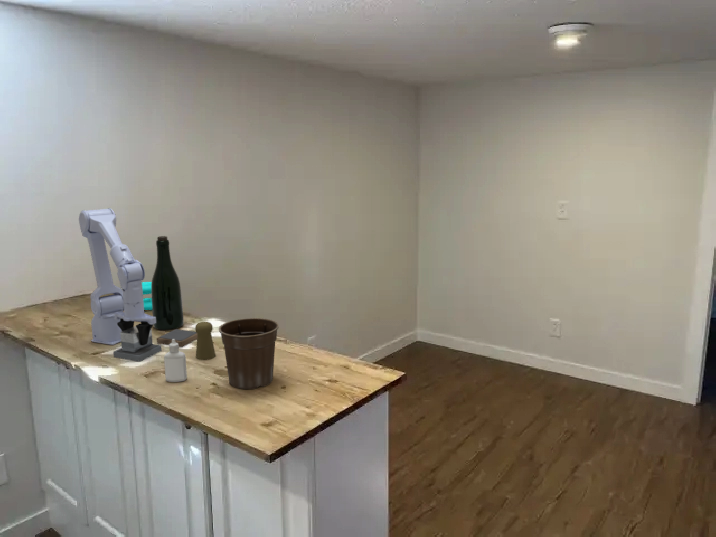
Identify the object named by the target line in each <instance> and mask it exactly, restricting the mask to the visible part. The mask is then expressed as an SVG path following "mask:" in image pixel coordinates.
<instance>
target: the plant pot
mask: <svg viewBox="0 0 716 537" xmlns="http://www.w3.org/2000/svg"><path fill="white" fill-rule="evenodd" d="M279 326H280V324H279V323H278V322H277V321H276V320H272V319H268V318H264V317H263V318H261V317H250V318H246V317H245V318H239V319H238V318H237V319H234V320H230V321H227V322H224V323H223V324H221V325H220V326H219V327H218V331H219V334H220V336H221V342H222V345H223V347H224V348H223V349H224V355H225V362H226V369H227V376H228V383H229V384H230V385H231V386H232V387H233V388H235V389H241V390H253V389H258V387H262V388H264V387H266V386H268V385H270V384H271V383H272V382H273V380H274V369H275V366H274V365H275V354H276V353H275V352H276V351H275V350H276V342H277V338H278V336H277V335H278V330H279Z"/></svg>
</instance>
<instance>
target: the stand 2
mask: <svg viewBox="0 0 716 537" xmlns="http://www.w3.org/2000/svg"><path fill="white" fill-rule="evenodd" d="M172 339H175V342H176V343H178V345H179V348H183V347H185V346H187V345H189V344H191V343H192V342H194V341H197V333H196V331H193V330H187V329H186V330H185V329H179V328H176V329H172V330H171V331H169V332H167V333H164V334H162V335H160V336H158V337H156V344H158V345H160V344H161V345H166V346H167V345H168V346H169V344H171V343H172Z"/></svg>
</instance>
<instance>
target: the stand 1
mask: <svg viewBox="0 0 716 537" xmlns="http://www.w3.org/2000/svg"><path fill="white" fill-rule="evenodd" d="M162 349H163V348H162V344H161V345H160V344H157V343H156V344H154V343H153V344H152V345H150V346H148V347H146V348H144V349H142V350H140V351H138V352H136V353H133V352H127V351H122V347H121V348H118V349H117V350H114V351H113V358H114V359H115V358H116V359H120V360H121V359H122V360H127V361H134V362H138V363H139V362H140V363H141V362H142V361H144V360H146V359H148V358H150V357H151V356H153V355H156V354H158V353H160V352H162Z"/></svg>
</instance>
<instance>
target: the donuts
mask: <svg viewBox="0 0 716 537" xmlns="http://www.w3.org/2000/svg"><path fill="white" fill-rule="evenodd" d="M151 283H152V281H142V290H143V296H144V295H145V296H146V295H151ZM143 302H144V310H150V311H152V297H145V298H144V297H143Z"/></svg>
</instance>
